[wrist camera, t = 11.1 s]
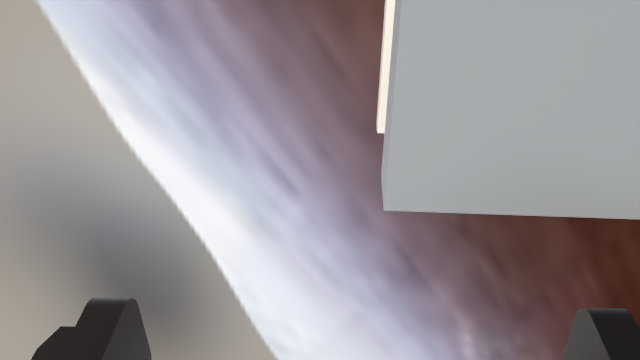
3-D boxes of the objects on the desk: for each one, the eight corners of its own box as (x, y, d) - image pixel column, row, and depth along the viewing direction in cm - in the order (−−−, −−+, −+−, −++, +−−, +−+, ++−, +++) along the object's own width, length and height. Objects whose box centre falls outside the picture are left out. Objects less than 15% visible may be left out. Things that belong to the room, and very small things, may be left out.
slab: (405, -121, 18) (411, -108, 16) (803, -114, 18) (859, -100, 16) (381, 175, 25) (383, 210, 23) (676, 185, 24) (705, 221, 22)
